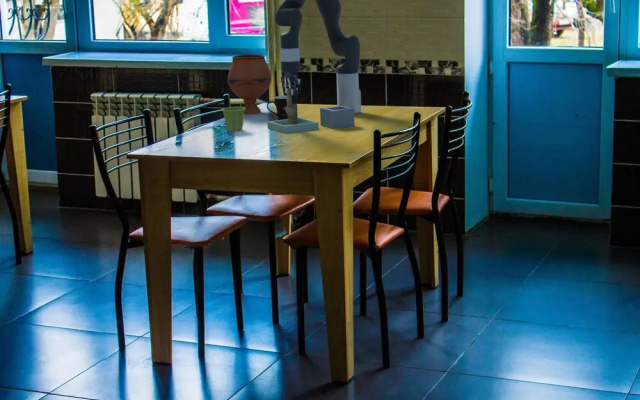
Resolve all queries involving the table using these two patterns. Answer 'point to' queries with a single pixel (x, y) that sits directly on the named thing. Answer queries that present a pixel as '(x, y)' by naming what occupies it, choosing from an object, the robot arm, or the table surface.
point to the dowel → (291, 109)
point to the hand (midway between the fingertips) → (292, 103)
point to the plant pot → (234, 118)
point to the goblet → (249, 79)
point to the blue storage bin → (337, 117)
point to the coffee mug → (280, 107)
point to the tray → (287, 128)
